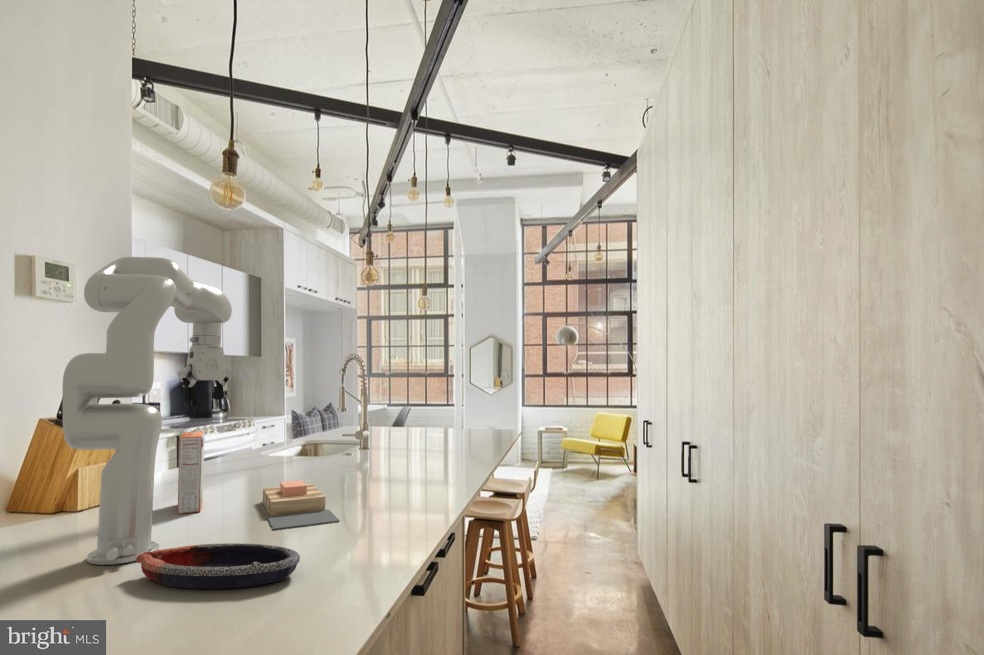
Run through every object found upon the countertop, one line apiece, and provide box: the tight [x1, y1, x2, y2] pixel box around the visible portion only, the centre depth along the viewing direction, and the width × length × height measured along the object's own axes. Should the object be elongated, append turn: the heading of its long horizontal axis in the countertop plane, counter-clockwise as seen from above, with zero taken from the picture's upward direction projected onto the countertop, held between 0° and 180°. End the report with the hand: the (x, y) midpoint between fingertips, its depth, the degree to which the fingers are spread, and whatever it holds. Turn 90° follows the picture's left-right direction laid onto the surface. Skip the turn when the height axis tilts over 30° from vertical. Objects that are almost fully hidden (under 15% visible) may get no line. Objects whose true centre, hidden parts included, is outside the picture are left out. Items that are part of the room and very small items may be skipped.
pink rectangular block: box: [279, 479, 307, 496], centre depth 159 cm, size 9×6×2 cm, turn 28°
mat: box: [266, 509, 341, 531], centre depth 144 cm, size 13×16×1 cm
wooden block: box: [262, 483, 326, 516], centre depth 159 cm, size 20×14×4 cm
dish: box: [135, 542, 301, 590], centre depth 104 cm, size 16×31×5 cm, turn 84°
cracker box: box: [177, 430, 205, 515], centre depth 158 cm, size 14×6×21 cm, turn 25°
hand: (204, 400), depth 163 cm, fingers open, 9 cm apart
